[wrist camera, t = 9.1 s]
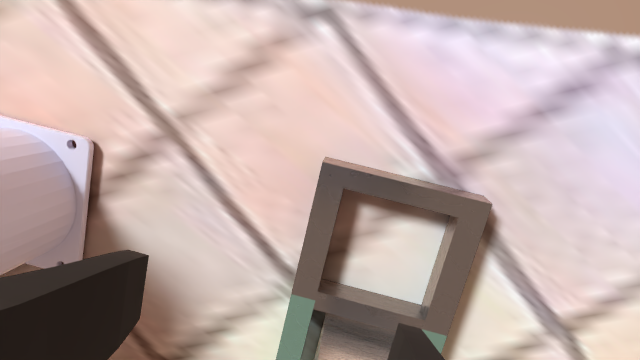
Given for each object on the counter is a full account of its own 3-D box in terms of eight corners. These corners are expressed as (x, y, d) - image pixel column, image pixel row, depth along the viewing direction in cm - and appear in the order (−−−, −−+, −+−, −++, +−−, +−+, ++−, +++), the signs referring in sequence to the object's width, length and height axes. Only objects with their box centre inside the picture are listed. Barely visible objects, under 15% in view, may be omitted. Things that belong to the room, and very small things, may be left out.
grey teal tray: (270, 388, 24) (264, 407, 23) (325, 156, 21) (322, 161, 19) (405, 426, 24) (408, 448, 22) (483, 196, 20) (492, 204, 19)
